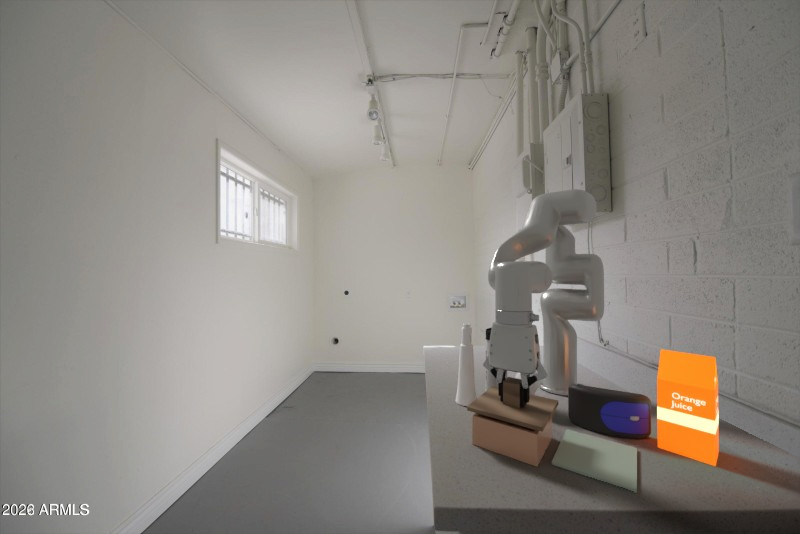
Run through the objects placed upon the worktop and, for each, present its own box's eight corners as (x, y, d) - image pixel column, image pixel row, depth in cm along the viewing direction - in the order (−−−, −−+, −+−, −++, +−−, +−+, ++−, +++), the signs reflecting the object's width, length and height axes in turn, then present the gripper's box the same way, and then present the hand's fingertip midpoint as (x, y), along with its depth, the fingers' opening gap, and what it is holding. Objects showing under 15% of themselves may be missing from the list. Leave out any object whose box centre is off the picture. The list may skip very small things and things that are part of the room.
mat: (566, 431, 73) (566, 429, 73) (636, 450, 65) (636, 447, 65) (551, 464, 60) (551, 461, 60) (636, 493, 53) (636, 490, 53)
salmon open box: (494, 421, 78) (494, 396, 78) (552, 438, 70) (552, 410, 70) (472, 444, 67) (472, 415, 67) (537, 466, 60) (537, 434, 60)
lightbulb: (543, 415, 81) (543, 372, 81) (517, 412, 83) (517, 370, 83) (537, 405, 87) (537, 365, 88) (513, 403, 89) (513, 363, 89)
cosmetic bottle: (453, 404, 87) (453, 324, 88) (457, 396, 93) (457, 321, 94) (475, 408, 85) (476, 326, 86) (478, 399, 91) (478, 322, 91)
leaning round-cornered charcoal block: (568, 427, 75) (568, 387, 75) (568, 420, 79) (568, 381, 79) (654, 446, 67) (654, 401, 67) (650, 436, 71) (649, 394, 71)
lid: (492, 391, 80) (492, 365, 80) (558, 406, 71) (558, 378, 71) (467, 413, 68) (467, 383, 68) (542, 435, 59) (542, 400, 59)
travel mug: (509, 394, 95) (509, 327, 96) (504, 401, 90) (504, 330, 90) (488, 390, 99) (488, 325, 99) (482, 397, 93) (482, 328, 93)
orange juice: (664, 435, 72) (663, 346, 72) (719, 451, 65) (718, 354, 66) (657, 447, 67) (656, 351, 67) (716, 467, 60) (715, 360, 60)
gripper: (558, 319, 67) (558, 406, 67) (483, 313, 77) (484, 388, 77) (550, 324, 61) (551, 419, 61) (470, 316, 71) (471, 398, 71)
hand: (513, 401), depth 69 cm, fingers closed on lid, 3 cm apart
